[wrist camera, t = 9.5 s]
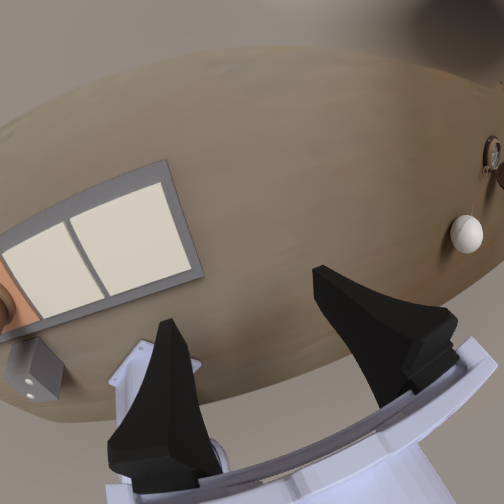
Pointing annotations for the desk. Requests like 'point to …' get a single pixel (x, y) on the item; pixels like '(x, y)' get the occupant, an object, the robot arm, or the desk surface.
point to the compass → (494, 159)
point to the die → (34, 371)
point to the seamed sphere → (466, 234)
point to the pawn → (6, 307)
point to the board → (97, 251)
